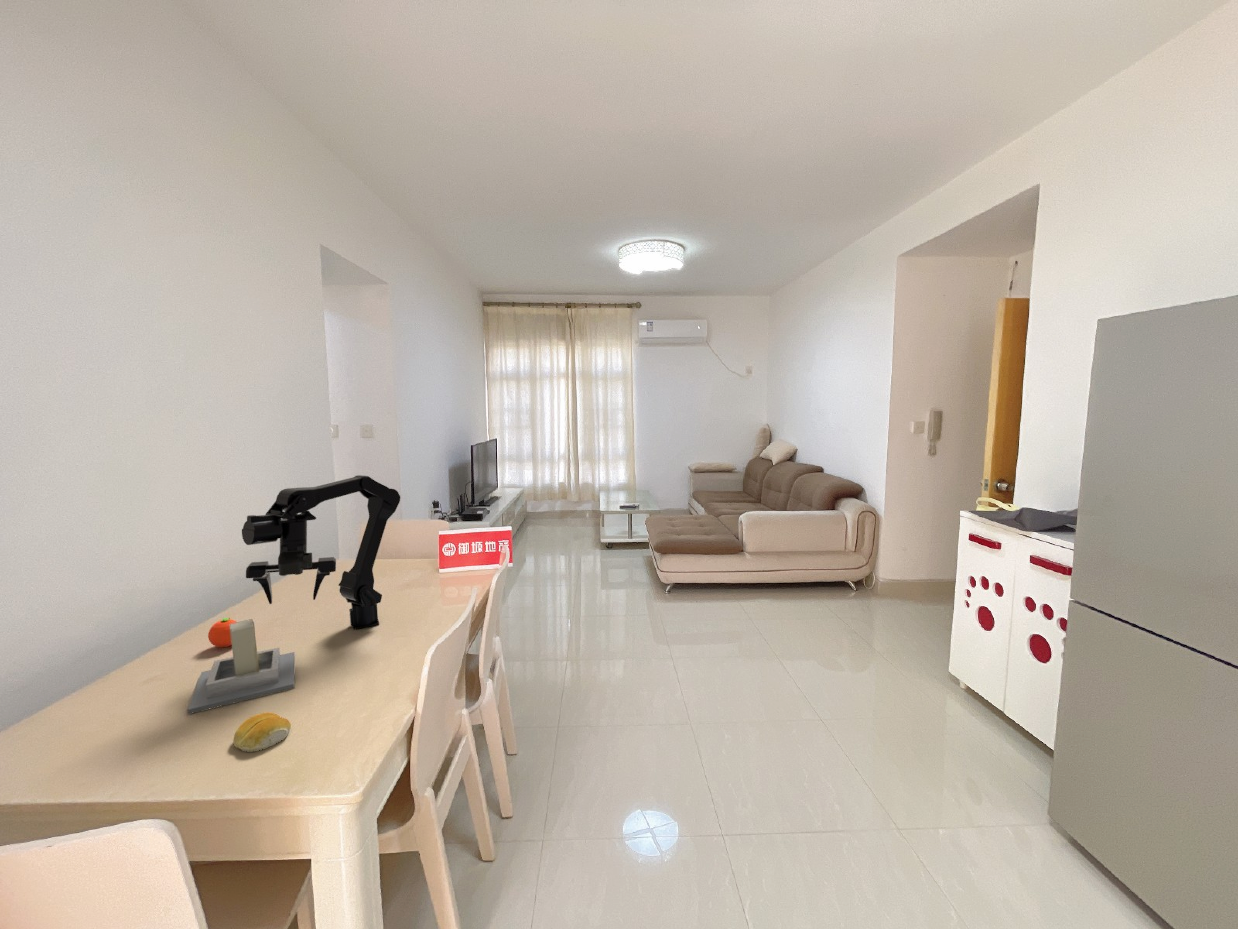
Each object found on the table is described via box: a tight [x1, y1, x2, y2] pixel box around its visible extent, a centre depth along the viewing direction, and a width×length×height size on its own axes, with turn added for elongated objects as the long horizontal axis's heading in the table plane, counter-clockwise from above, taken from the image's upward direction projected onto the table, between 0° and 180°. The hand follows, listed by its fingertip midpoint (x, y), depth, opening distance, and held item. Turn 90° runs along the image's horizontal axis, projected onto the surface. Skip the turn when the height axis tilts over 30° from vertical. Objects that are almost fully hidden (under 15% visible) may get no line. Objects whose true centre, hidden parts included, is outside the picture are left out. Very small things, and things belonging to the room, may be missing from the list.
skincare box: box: [230, 618, 259, 676], centre depth 115 cm, size 6×4×12 cm
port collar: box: [206, 647, 281, 699], centre depth 116 cm, size 12×12×3 cm
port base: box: [187, 651, 296, 715], centre depth 116 cm, size 18×18×1 cm
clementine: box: [207, 617, 238, 648], centre depth 135 cm, size 8×7×7 cm
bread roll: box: [232, 711, 291, 753], centre depth 96 cm, size 8×9×4 cm
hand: (292, 601), depth 130 cm, fingers open, 9 cm apart
